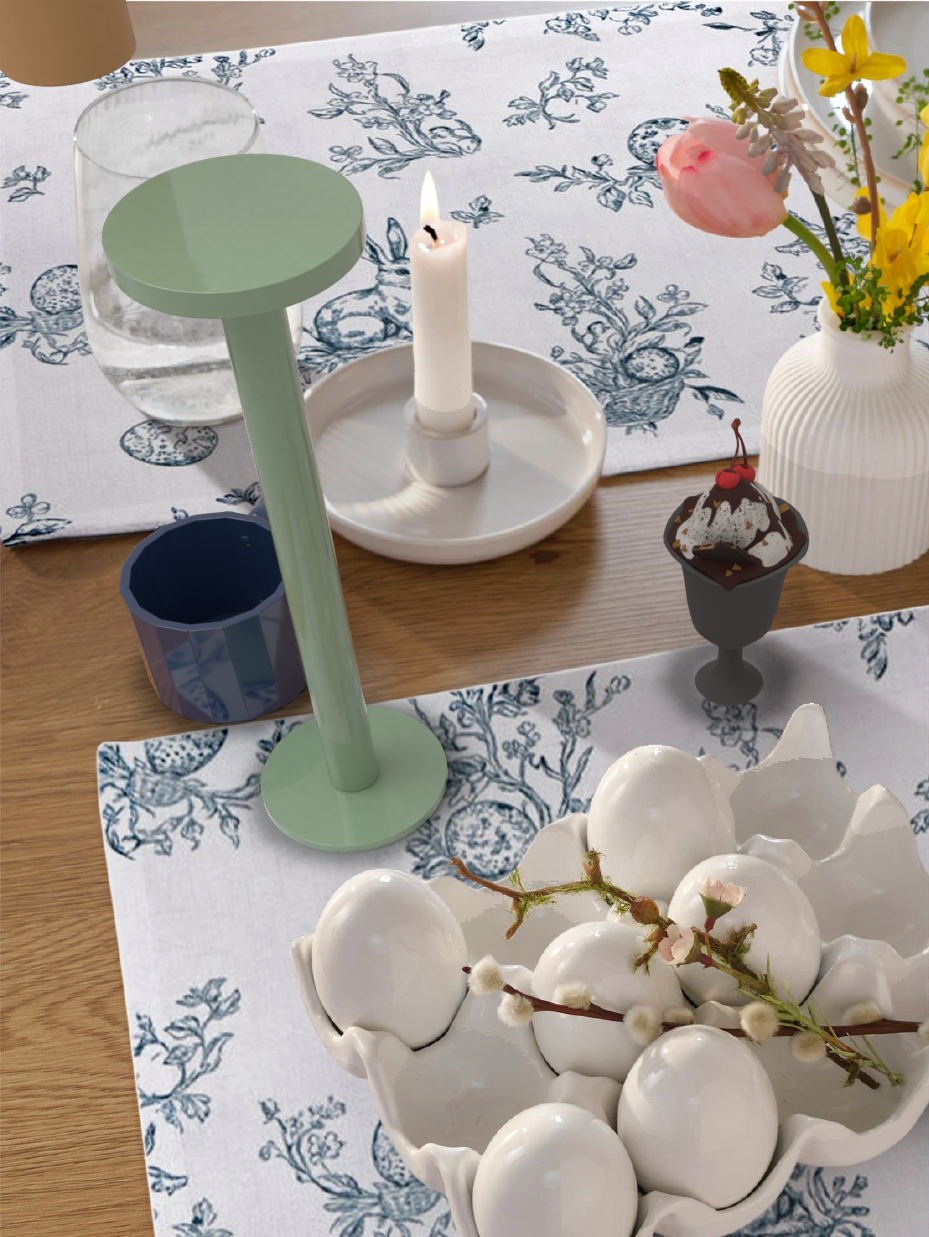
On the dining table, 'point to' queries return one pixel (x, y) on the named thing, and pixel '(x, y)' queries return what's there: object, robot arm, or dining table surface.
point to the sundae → (734, 570)
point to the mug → (213, 617)
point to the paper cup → (64, 40)
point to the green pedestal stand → (284, 461)
